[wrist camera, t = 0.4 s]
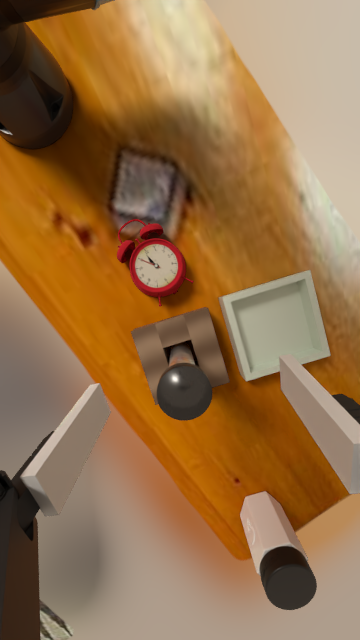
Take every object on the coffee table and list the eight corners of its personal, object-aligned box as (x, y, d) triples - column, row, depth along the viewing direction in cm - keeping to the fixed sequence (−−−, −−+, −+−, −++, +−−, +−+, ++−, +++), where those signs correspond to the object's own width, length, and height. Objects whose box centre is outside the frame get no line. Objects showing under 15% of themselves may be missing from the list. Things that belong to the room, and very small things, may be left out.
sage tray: (218, 297, 39) (222, 297, 35) (298, 272, 38) (310, 269, 35) (240, 374, 40) (246, 381, 37) (317, 350, 40) (330, 355, 36)
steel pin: (161, 341, 39) (149, 376, 21) (190, 332, 39) (203, 359, 21) (170, 370, 40) (166, 427, 22) (199, 361, 40) (218, 411, 22)
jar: (246, 486, 43) (274, 558, 31) (283, 494, 43) (324, 568, 31) (235, 523, 43) (258, 608, 31) (271, 530, 44) (307, 617, 32)
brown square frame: (135, 328, 39) (130, 331, 35) (204, 307, 39) (207, 307, 35) (157, 394, 40) (155, 404, 36) (224, 374, 40) (229, 382, 36)
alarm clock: (154, 313, 35) (94, 238, 31) (153, 306, 41) (103, 242, 37) (202, 278, 35) (148, 196, 30) (194, 275, 41) (148, 207, 36)
